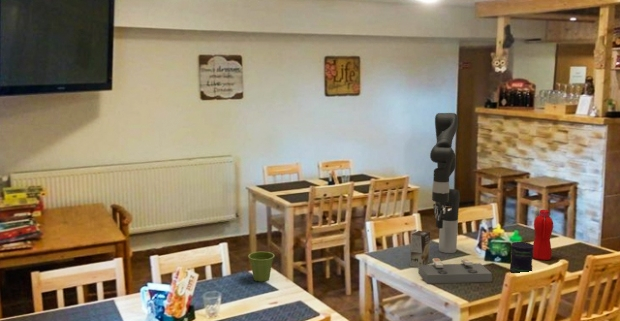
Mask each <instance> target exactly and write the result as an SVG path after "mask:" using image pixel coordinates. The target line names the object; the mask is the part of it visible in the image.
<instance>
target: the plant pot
mask: <svg viewBox="0 0 620 321" xmlns="http://www.w3.org/2000/svg"><path fill="white" fill-rule="evenodd" d="M247 257H248V259H249V262H250V264H251V271H252V277H253V280H254V281H255V282H257V281H258V282H267V281H269V280H270V276H271V271H272V264H273V262H274V258H275V254H274V253H272V252H270V251H254V252H251V253H249V254H248V256H247Z"/></svg>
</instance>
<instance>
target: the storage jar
mask: <svg viewBox="0 0 620 321" xmlns="http://www.w3.org/2000/svg"><path fill="white" fill-rule="evenodd" d="M533 247H534V246H533V243H530V242H526V241H514V242H512V243H511V248H510V256H511V258H510V259H511V261H510V265H509V273H510V272H511V273H520V272H529V271H532V272H533V259H534V258H533Z"/></svg>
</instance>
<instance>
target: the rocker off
mask: <svg viewBox="0 0 620 321" xmlns="http://www.w3.org/2000/svg"><path fill="white" fill-rule="evenodd" d="M432 262H433V263H432V264H435V266H436V267H437V268H438V267H443V264H444V263H443V262H442V261H441V259H440V258H432Z"/></svg>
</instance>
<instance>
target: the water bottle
mask: <svg viewBox="0 0 620 321" xmlns="http://www.w3.org/2000/svg"><path fill="white" fill-rule="evenodd" d="M533 228H534V240H533V243H532V245H533V246H534V247H533V258H532V259H534V260H535V259H536V260H539V261H540V260H542V261H549V260H551V259H552V252H553V251H552V250H553V249H552V246H551V245H552V244H551V237H552V233H553V229H554V222H553V219H552V217H550V210H549V209H540V210H539V215H538V216H536V217H535V218H534V222H533Z"/></svg>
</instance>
